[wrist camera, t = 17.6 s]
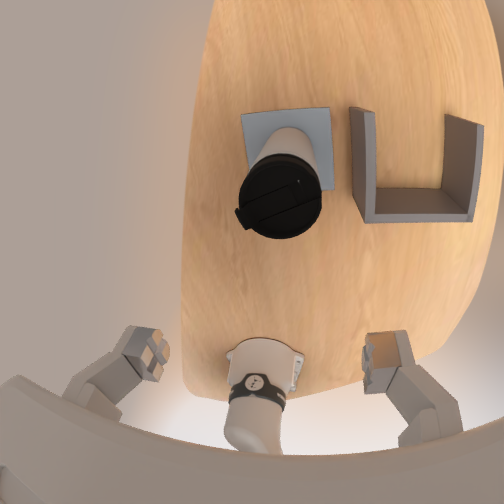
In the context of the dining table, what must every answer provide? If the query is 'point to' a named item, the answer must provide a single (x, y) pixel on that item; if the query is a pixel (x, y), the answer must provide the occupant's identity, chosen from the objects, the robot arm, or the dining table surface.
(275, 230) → the travel mug
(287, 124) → the mat
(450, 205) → the grey u-shaped channel
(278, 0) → the dining table surface
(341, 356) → the dining table surface
